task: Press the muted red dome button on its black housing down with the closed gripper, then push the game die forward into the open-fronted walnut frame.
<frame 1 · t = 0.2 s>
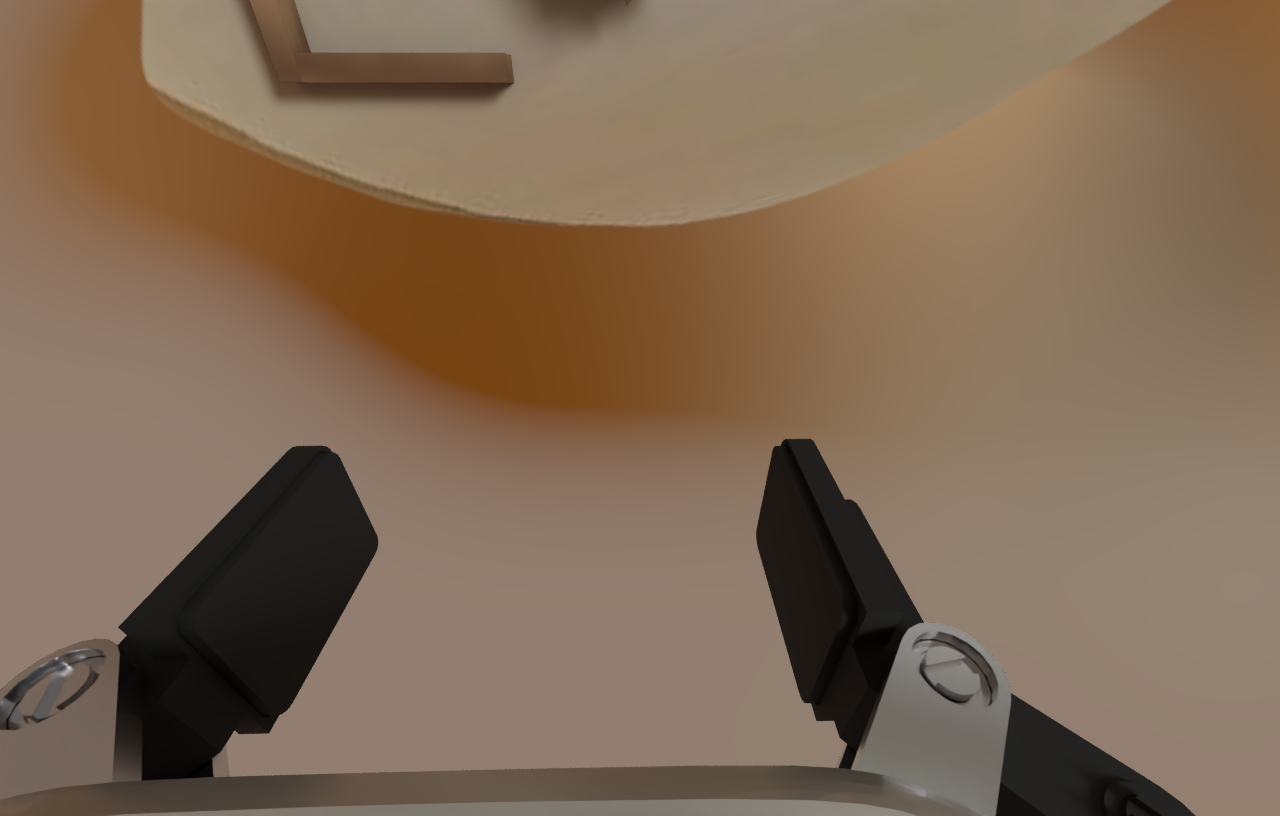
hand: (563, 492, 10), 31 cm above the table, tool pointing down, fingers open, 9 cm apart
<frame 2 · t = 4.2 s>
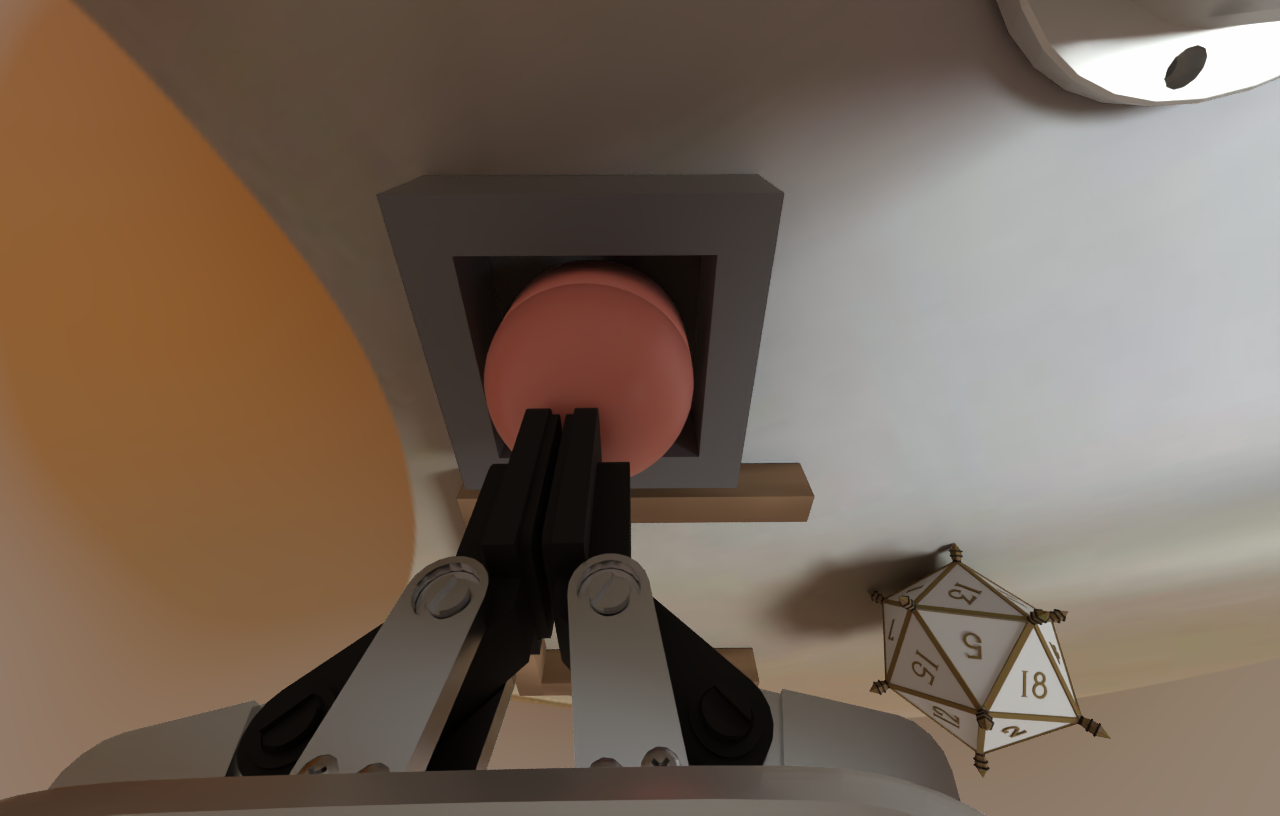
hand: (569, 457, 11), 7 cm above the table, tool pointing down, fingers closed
dome button: (591, 382, 14), point 4 cm above the table, slide at 0.3 cm, touching gripper
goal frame: (650, 581, 25), on the table
dome housing: (599, 329, 17), on the table
game die: (922, 575, 25), on the table
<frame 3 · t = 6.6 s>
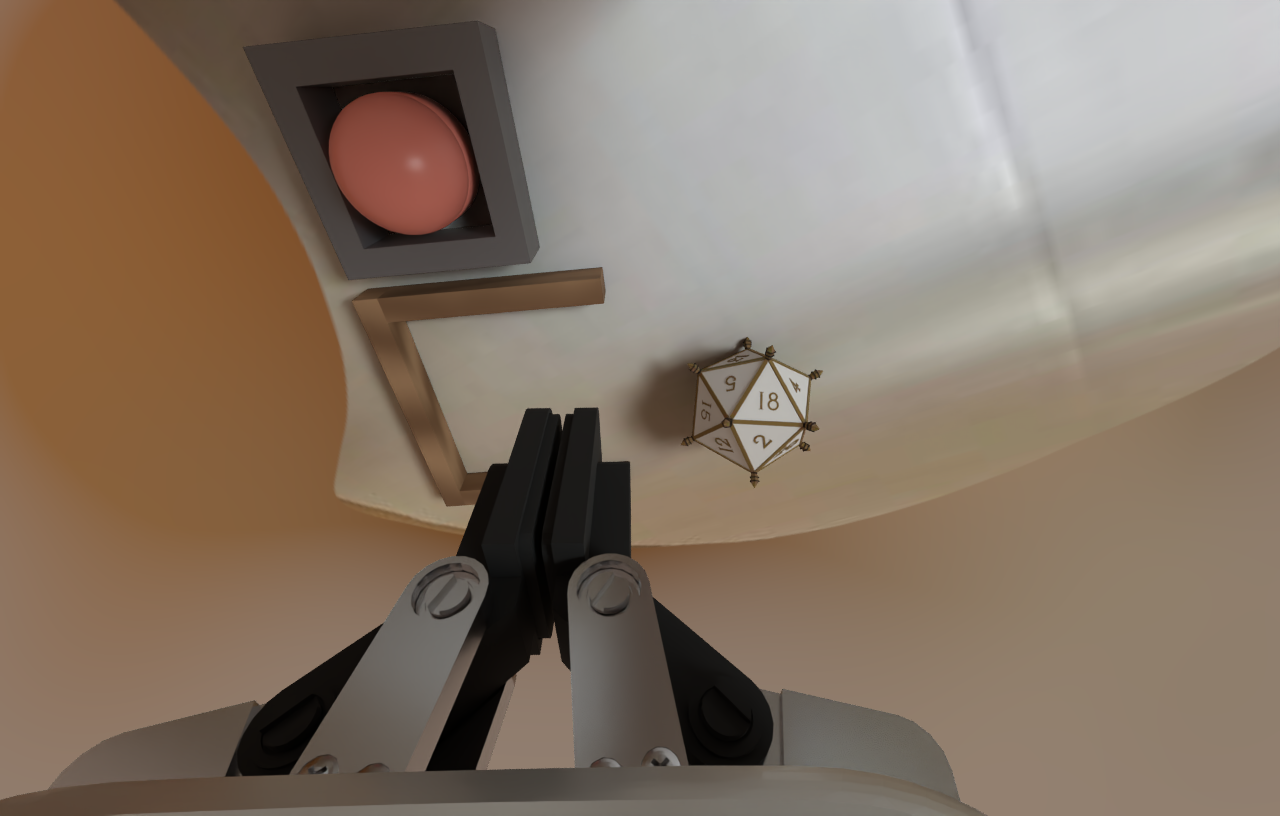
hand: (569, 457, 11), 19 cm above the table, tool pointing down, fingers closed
dome button: (404, 167, 22), point 3 cm above the table, slide at 1.0 cm
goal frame: (527, 394, 33), on the table
dome housing: (426, 160, 24), on the table
game die: (738, 374, 33), on the table
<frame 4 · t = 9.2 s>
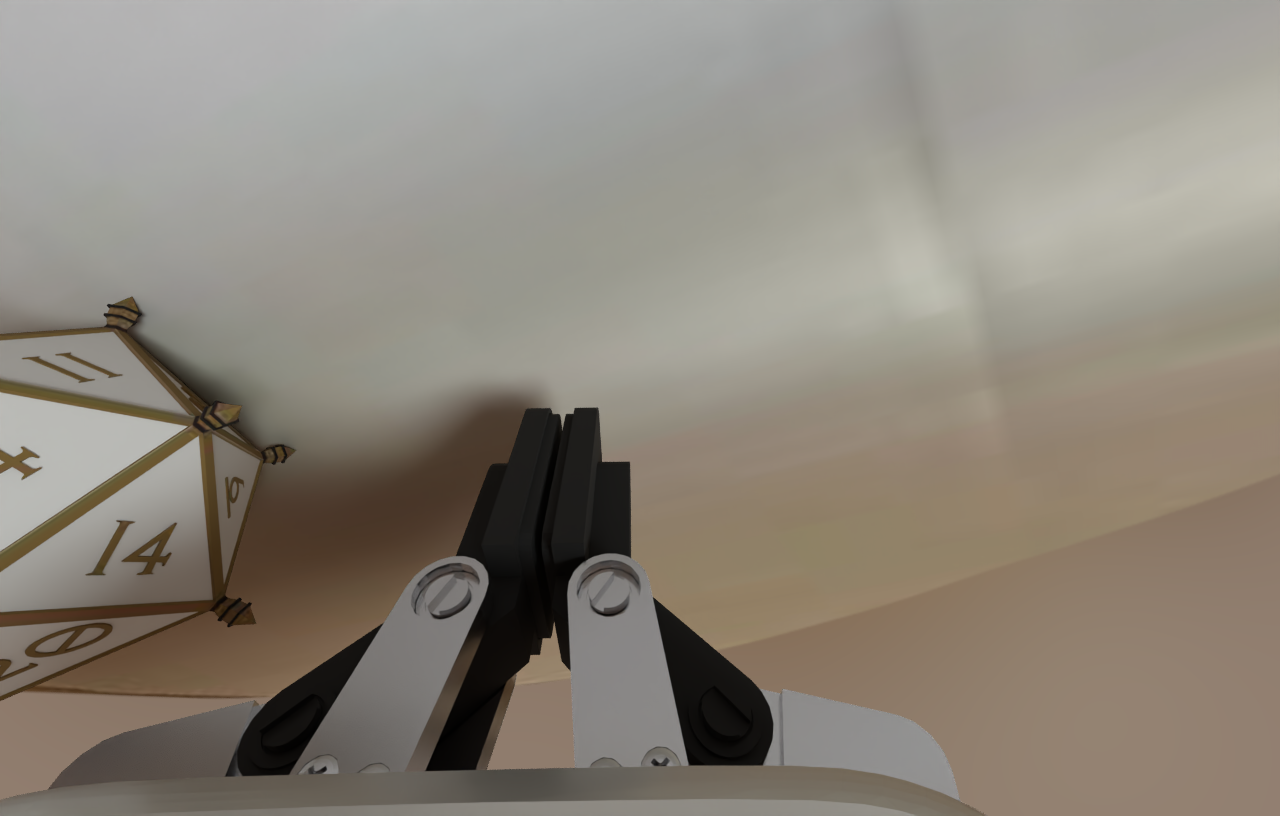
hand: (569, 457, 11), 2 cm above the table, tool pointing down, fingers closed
game die: (187, 395, 13), on the table
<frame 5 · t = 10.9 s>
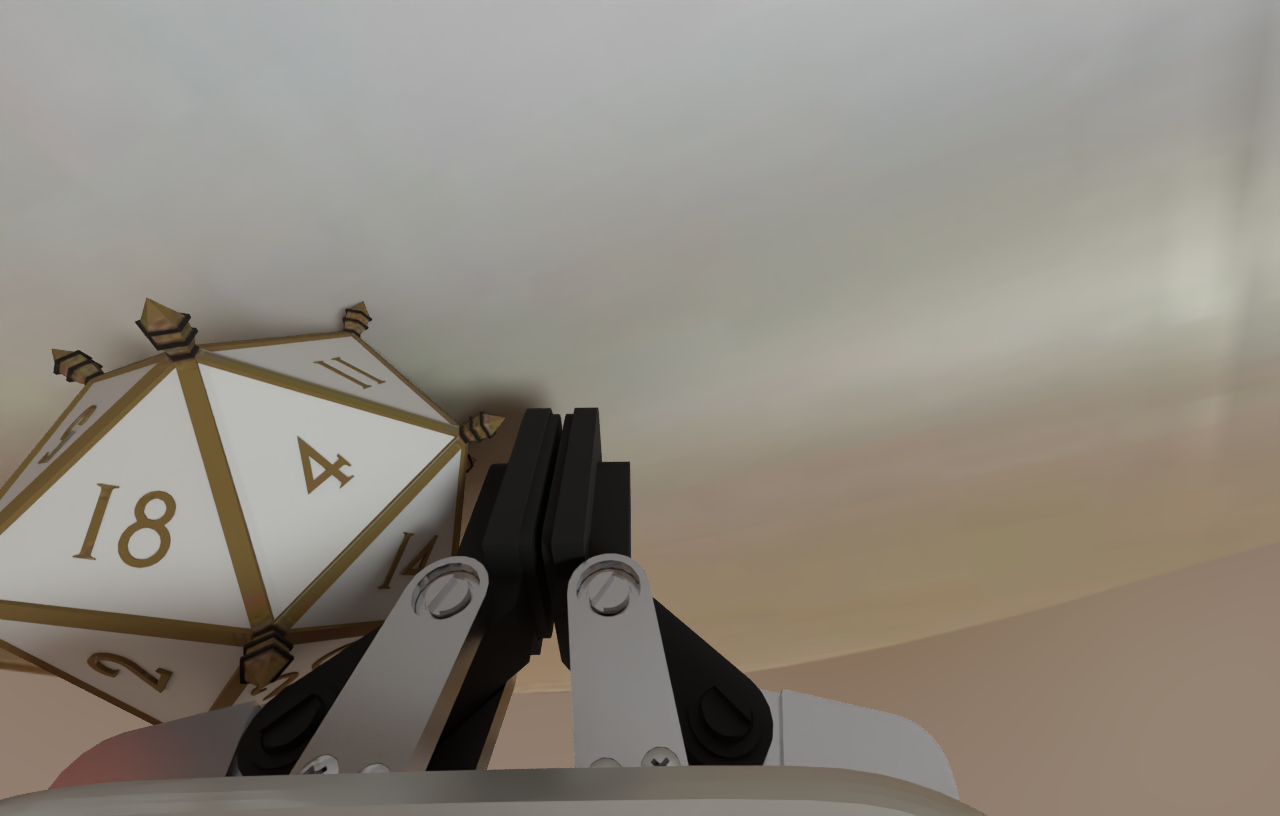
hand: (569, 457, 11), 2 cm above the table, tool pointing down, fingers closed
game die: (383, 400, 13), on the table, touching gripper
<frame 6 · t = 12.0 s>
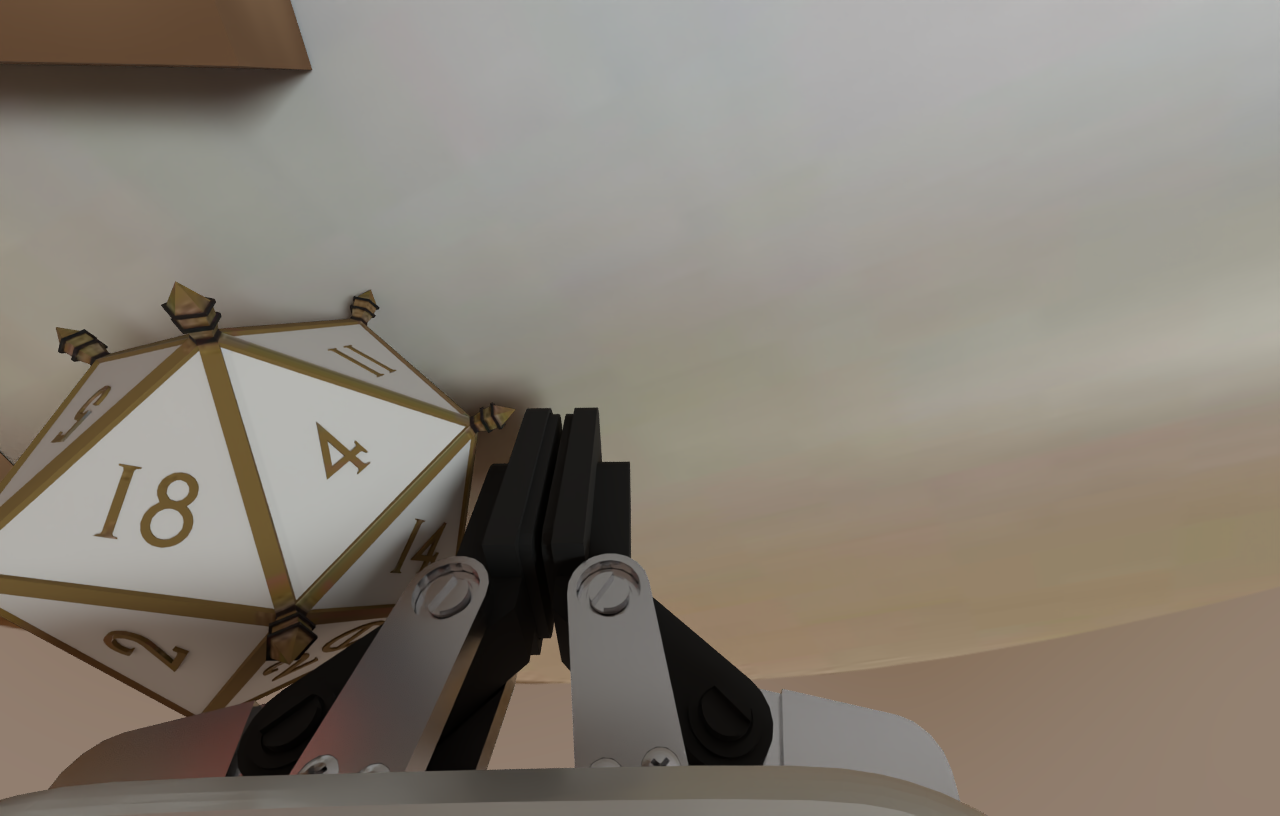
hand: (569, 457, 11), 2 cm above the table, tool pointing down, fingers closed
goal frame: (171, 380, 13), on the table
game die: (385, 389, 13), on the table, touching gripper
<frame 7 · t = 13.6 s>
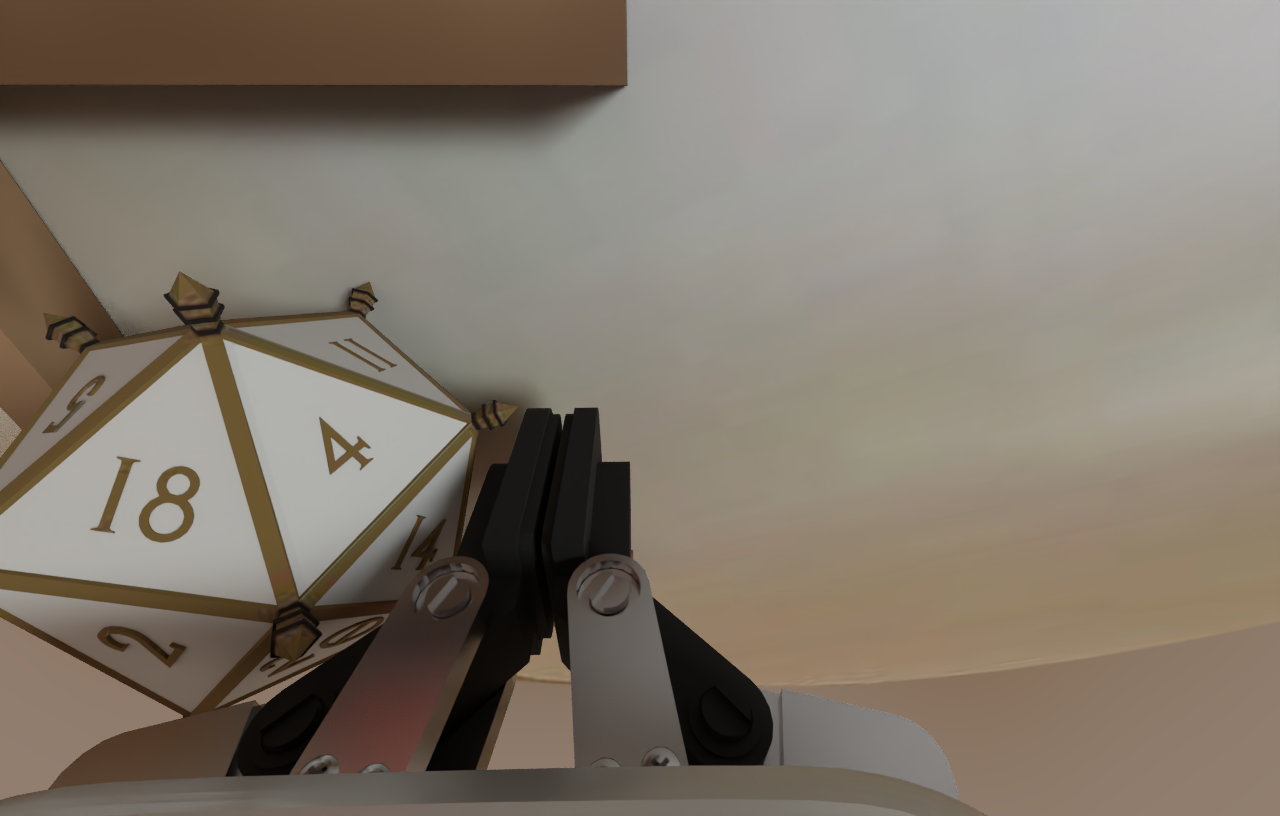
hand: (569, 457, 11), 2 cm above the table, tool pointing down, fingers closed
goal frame: (398, 391, 13), on the table
game die: (380, 382, 13), on the table, touching gripper
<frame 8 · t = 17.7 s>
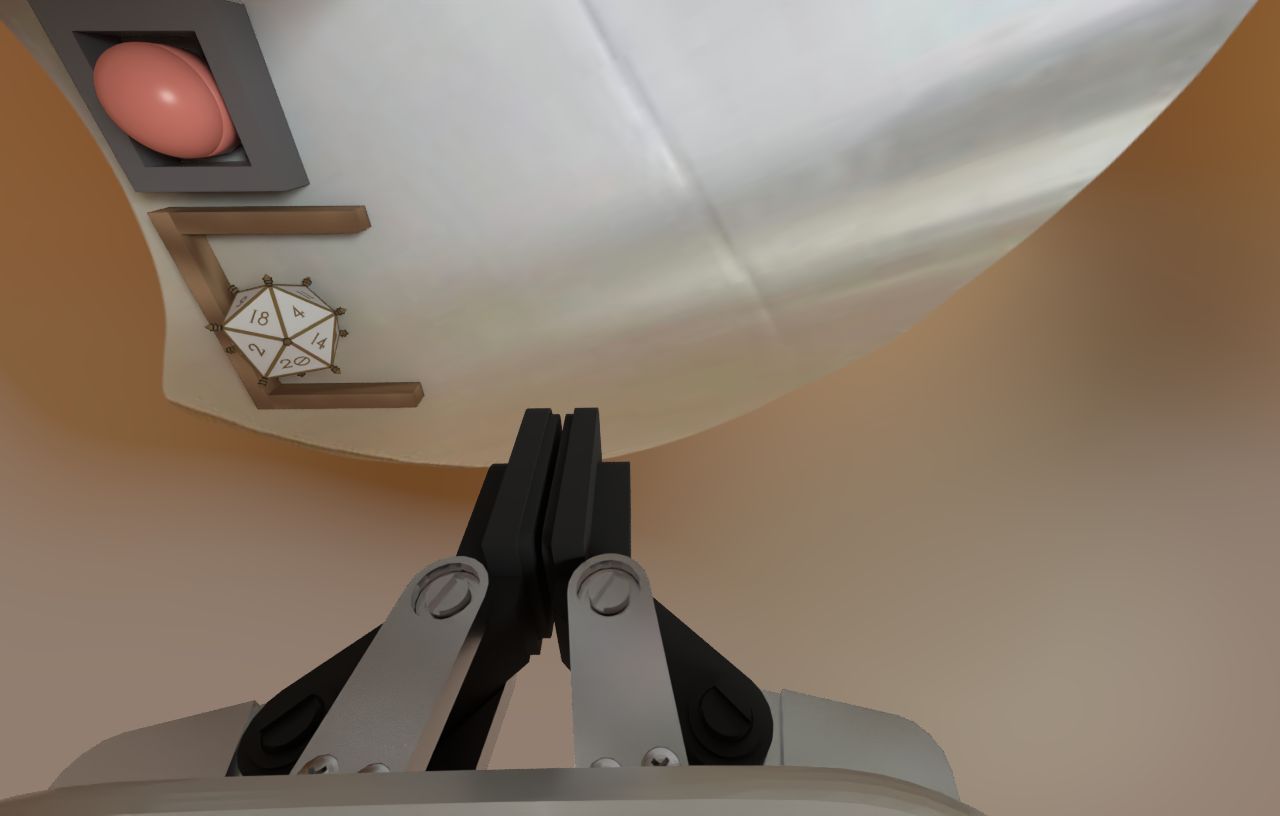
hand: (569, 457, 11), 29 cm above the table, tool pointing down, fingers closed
dome button: (168, 103, 29), point 3 cm above the table, slide at 1.0 cm
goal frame: (321, 312, 39), on the table
dome housing: (204, 102, 31), on the table
game die: (315, 310, 40), on the table
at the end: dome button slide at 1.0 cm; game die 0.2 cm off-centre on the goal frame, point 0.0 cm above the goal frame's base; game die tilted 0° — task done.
